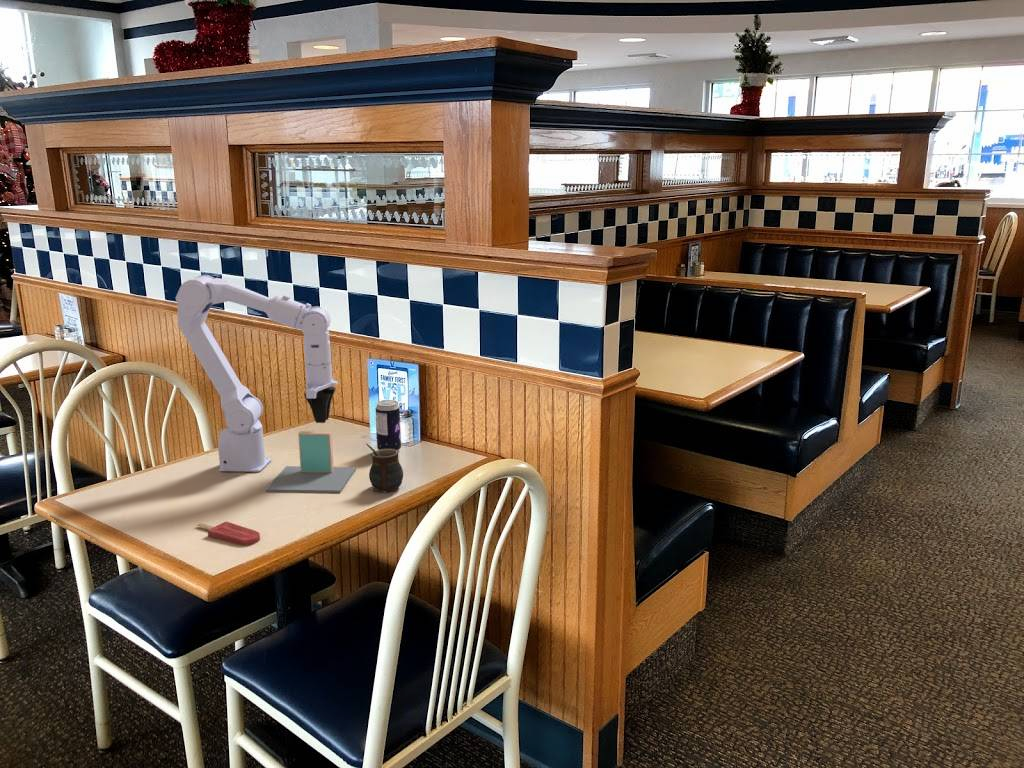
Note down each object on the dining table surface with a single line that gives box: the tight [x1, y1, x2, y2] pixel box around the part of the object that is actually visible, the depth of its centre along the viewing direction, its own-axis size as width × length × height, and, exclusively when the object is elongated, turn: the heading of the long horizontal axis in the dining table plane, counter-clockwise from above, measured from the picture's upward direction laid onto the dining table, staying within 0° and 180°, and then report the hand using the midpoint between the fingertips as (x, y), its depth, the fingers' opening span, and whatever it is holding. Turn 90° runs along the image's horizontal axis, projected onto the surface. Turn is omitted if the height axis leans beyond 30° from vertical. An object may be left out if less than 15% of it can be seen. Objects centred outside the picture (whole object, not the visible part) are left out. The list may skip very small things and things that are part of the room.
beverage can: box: [375, 399, 402, 452], centre depth 196 cm, size 6×6×12 cm
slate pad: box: [264, 465, 357, 494], centre depth 178 cm, size 16×14×1 cm
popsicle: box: [196, 521, 261, 546], centre depth 152 cm, size 4×2×15 cm
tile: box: [297, 430, 335, 473], centre depth 181 cm, size 7×2×9 cm, turn 87°
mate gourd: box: [365, 442, 404, 493], centre depth 172 cm, size 7×8×10 cm
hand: (322, 421), depth 185 cm, fingers closed
